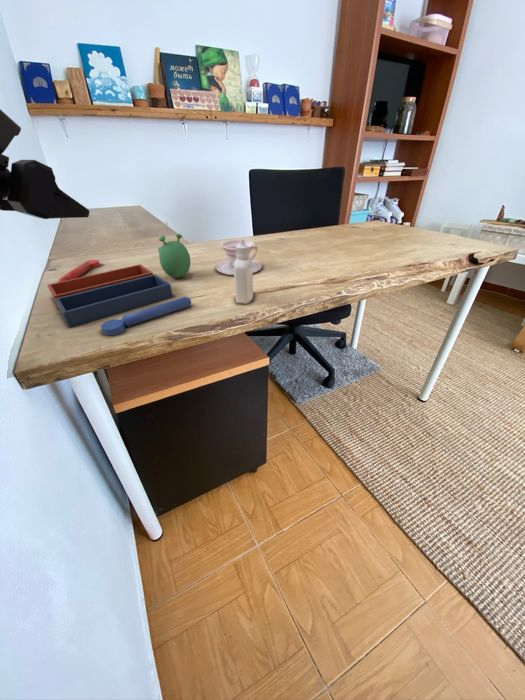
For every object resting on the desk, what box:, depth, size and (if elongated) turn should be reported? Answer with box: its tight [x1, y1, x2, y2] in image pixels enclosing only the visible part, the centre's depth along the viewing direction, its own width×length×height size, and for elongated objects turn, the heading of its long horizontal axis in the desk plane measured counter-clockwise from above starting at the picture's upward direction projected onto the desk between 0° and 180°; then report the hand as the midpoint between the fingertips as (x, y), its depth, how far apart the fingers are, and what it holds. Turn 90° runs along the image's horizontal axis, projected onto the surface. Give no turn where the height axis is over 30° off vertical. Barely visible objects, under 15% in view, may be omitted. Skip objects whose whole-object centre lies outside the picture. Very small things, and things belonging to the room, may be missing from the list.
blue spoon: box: [100, 296, 192, 336], centre depth 54 cm, size 17×4×2 cm, turn 129°
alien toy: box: [157, 233, 191, 279], centre depth 69 cm, size 7×8×10 cm
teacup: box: [215, 239, 263, 276], centre depth 75 cm, size 12×12×6 cm
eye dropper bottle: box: [233, 237, 254, 305], centre depth 58 cm, size 4×6×12 cm
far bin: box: [46, 263, 154, 309], centre depth 64 cm, size 20×8×3 cm, turn 129°
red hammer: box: [57, 259, 101, 282], centre depth 73 cm, size 17×4×2 cm, turn 0°
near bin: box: [54, 273, 174, 328], centre depth 59 cm, size 20×8×3 cm, turn 129°
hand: (72, 211), depth 47 cm, fingers open, 9 cm apart
